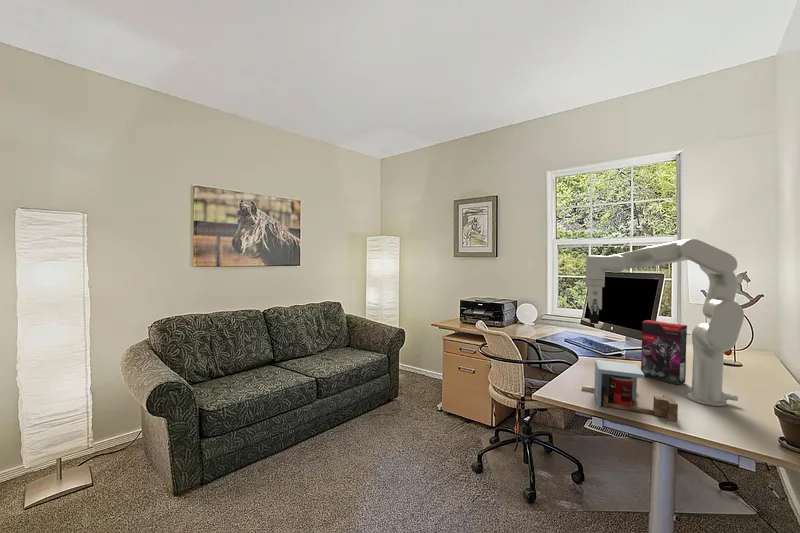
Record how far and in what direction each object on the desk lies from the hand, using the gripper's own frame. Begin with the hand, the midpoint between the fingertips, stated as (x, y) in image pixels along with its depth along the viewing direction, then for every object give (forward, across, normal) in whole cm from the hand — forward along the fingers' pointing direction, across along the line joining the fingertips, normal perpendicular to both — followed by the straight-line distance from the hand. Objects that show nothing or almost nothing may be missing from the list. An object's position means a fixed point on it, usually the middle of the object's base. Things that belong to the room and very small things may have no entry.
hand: (593, 321), depth 165 cm
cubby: (+29, -16, -8) cm, 35 cm away
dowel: (+30, -6, -2) cm, 30 cm away
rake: (+29, -19, -14) cm, 38 cm away
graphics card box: (+29, +29, -31) cm, 52 cm away
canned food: (+29, -16, -9) cm, 35 cm away
